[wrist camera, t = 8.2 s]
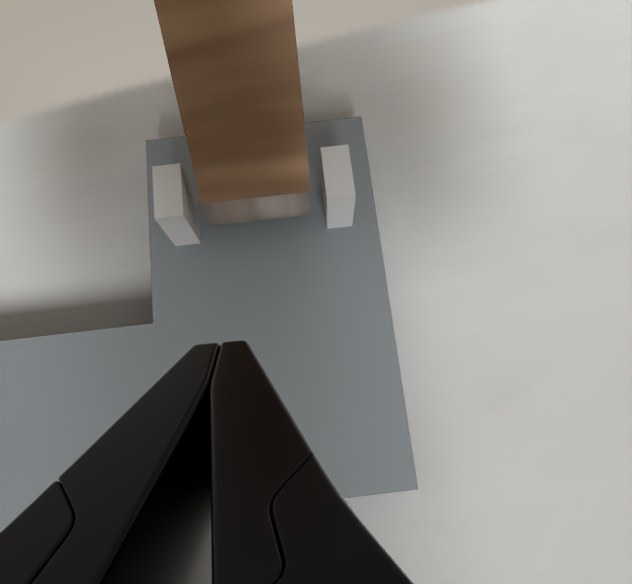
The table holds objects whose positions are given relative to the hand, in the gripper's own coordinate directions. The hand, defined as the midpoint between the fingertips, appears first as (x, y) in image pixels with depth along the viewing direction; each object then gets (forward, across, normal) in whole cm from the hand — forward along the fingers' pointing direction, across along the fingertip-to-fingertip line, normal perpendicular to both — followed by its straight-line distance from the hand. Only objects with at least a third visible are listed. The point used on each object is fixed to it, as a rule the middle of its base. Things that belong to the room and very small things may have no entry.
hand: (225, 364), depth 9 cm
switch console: (+13, +7, +7) cm, 16 cm away
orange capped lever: (+13, 0, +2) cm, 13 cm away
